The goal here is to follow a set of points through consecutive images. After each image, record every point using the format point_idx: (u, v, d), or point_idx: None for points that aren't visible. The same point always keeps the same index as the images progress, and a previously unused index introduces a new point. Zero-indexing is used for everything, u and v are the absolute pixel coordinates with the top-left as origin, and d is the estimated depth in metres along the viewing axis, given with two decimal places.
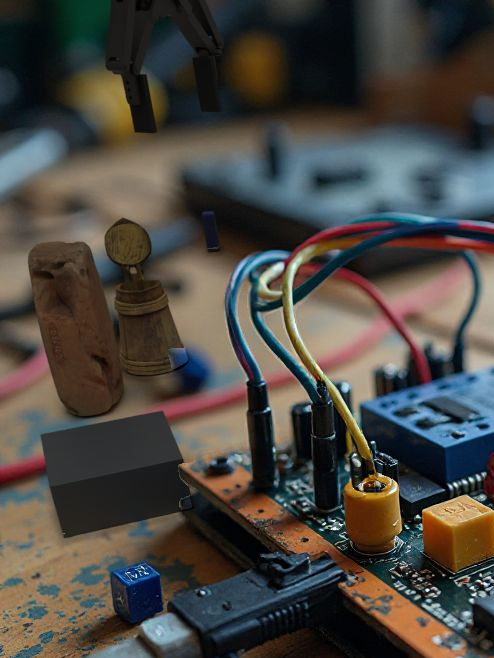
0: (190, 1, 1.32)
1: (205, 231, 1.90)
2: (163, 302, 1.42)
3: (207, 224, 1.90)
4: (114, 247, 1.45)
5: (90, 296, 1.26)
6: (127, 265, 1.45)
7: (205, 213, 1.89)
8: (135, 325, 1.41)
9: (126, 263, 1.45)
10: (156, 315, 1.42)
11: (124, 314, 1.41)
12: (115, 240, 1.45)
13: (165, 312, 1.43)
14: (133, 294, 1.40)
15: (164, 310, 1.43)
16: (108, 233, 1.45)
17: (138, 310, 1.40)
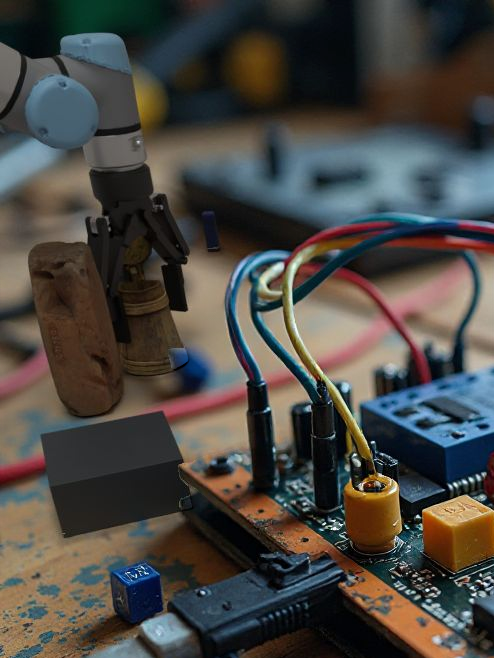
0: (159, 218, 1.46)
1: (205, 231, 1.90)
2: (163, 302, 1.42)
3: (207, 224, 1.90)
4: None
5: (90, 296, 1.26)
6: (127, 265, 1.45)
7: (205, 213, 1.89)
8: (135, 325, 1.42)
9: (126, 263, 1.45)
10: (156, 315, 1.42)
11: None
12: None
13: (165, 312, 1.43)
14: (133, 294, 1.40)
15: (164, 310, 1.43)
16: None
17: (138, 310, 1.40)
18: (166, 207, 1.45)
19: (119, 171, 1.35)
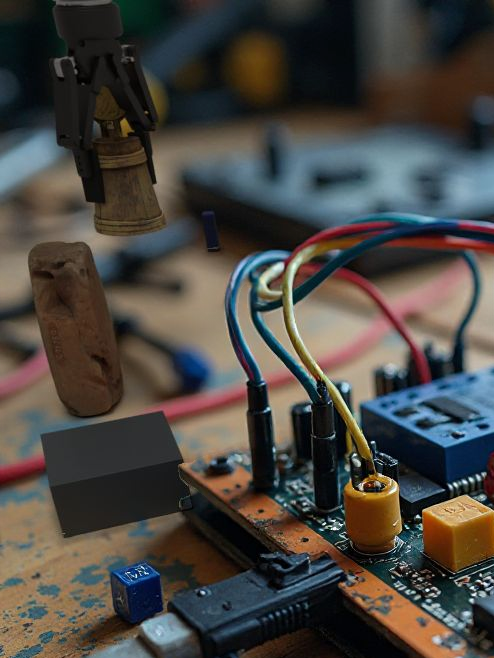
0: (129, 74, 1.37)
1: (205, 231, 1.90)
2: (140, 157, 1.34)
3: (207, 224, 1.90)
4: None
5: (90, 296, 1.26)
6: (104, 121, 1.37)
7: (205, 213, 1.89)
8: (110, 180, 1.33)
9: (103, 118, 1.37)
10: (132, 170, 1.34)
11: None
12: None
13: (142, 169, 1.35)
14: (108, 145, 1.31)
15: (141, 167, 1.35)
16: None
17: (113, 163, 1.32)
18: (137, 61, 1.36)
19: (85, 5, 1.25)
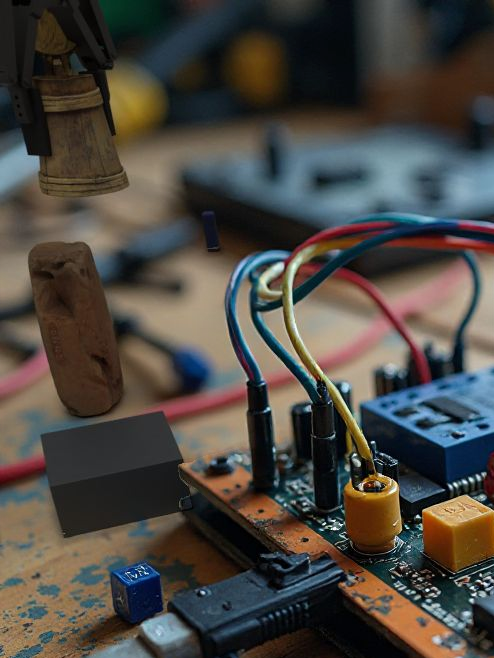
0: None
1: (205, 231, 1.90)
2: (95, 99, 1.08)
3: (207, 224, 1.90)
4: None
5: (90, 296, 1.26)
6: (49, 55, 1.11)
7: (205, 213, 1.89)
8: (57, 127, 1.07)
9: (48, 52, 1.11)
10: (85, 115, 1.08)
11: None
12: None
13: (98, 113, 1.09)
14: (54, 82, 1.06)
15: (96, 111, 1.09)
16: None
17: (61, 105, 1.06)
18: None
19: None
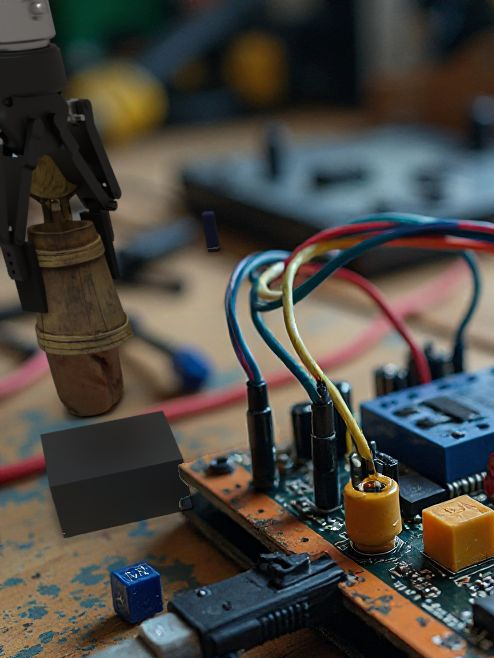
0: (79, 137, 1.02)
1: (205, 231, 1.90)
2: (95, 251, 0.99)
3: (207, 224, 1.90)
4: None
5: None
6: (48, 199, 1.02)
7: (205, 213, 1.89)
8: (54, 282, 0.98)
9: (46, 196, 1.02)
10: (84, 269, 0.99)
11: None
12: None
13: (98, 265, 1.00)
14: (50, 237, 0.97)
15: (97, 263, 1.00)
16: None
17: (58, 261, 0.97)
18: (89, 120, 1.01)
19: (11, 50, 0.90)
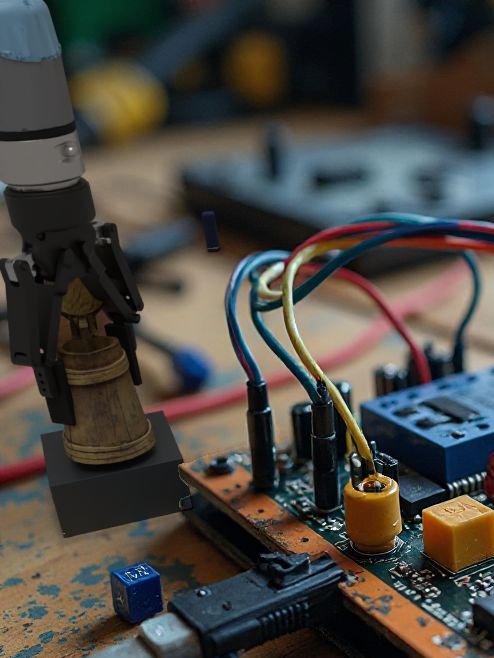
0: (105, 257, 1.08)
1: (205, 231, 1.90)
2: (121, 368, 1.05)
3: (207, 224, 1.90)
4: None
5: None
6: (75, 316, 1.08)
7: (205, 213, 1.89)
8: (82, 398, 1.04)
9: (74, 313, 1.08)
10: (111, 385, 1.05)
11: None
12: None
13: (123, 380, 1.06)
14: (79, 357, 1.03)
15: (122, 378, 1.06)
16: None
17: (86, 379, 1.03)
18: (115, 242, 1.07)
19: (44, 190, 0.96)
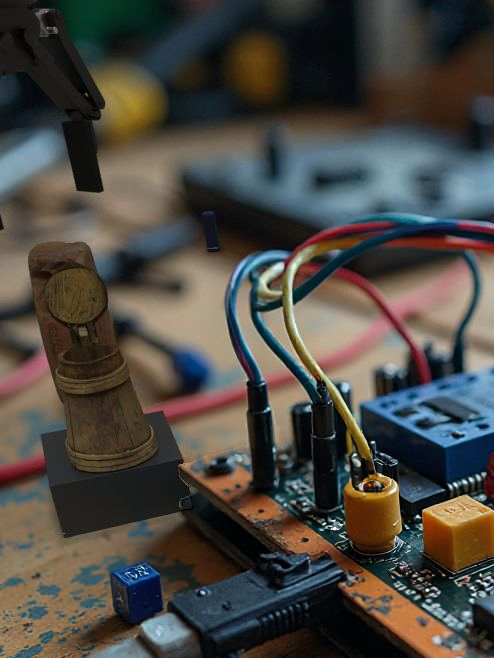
0: (54, 49, 0.98)
1: (205, 231, 1.90)
2: (122, 376, 1.06)
3: (207, 223, 1.90)
4: (57, 300, 1.08)
5: None
6: (75, 324, 1.08)
7: (205, 213, 1.89)
8: (84, 407, 1.05)
9: (74, 321, 1.08)
10: (112, 393, 1.05)
11: (69, 393, 1.05)
12: (59, 291, 1.08)
13: (125, 388, 1.07)
14: (80, 367, 1.03)
15: (123, 386, 1.06)
16: (49, 281, 1.08)
17: (87, 388, 1.04)
18: (62, 31, 0.97)
19: None
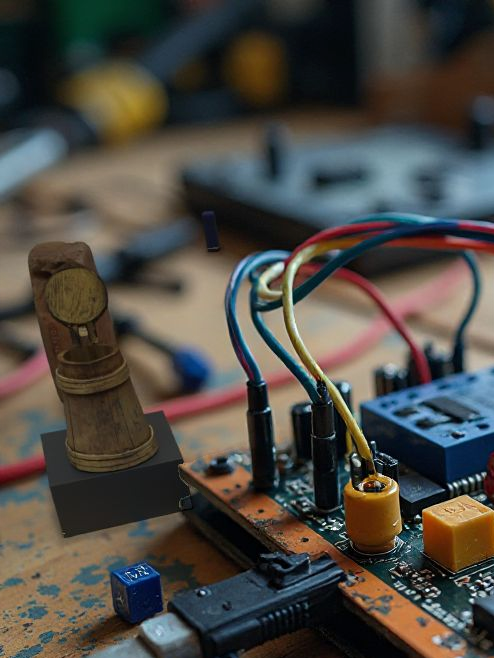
0: None
1: (205, 231, 1.90)
2: (122, 376, 1.06)
3: (207, 223, 1.90)
4: (57, 300, 1.08)
5: None
6: (75, 324, 1.08)
7: (205, 213, 1.89)
8: (84, 407, 1.05)
9: (74, 321, 1.08)
10: (112, 393, 1.05)
11: (69, 392, 1.05)
12: (59, 291, 1.08)
13: (125, 388, 1.07)
14: (80, 366, 1.03)
15: (123, 386, 1.06)
16: (49, 281, 1.08)
17: (88, 388, 1.04)
18: None
19: None
